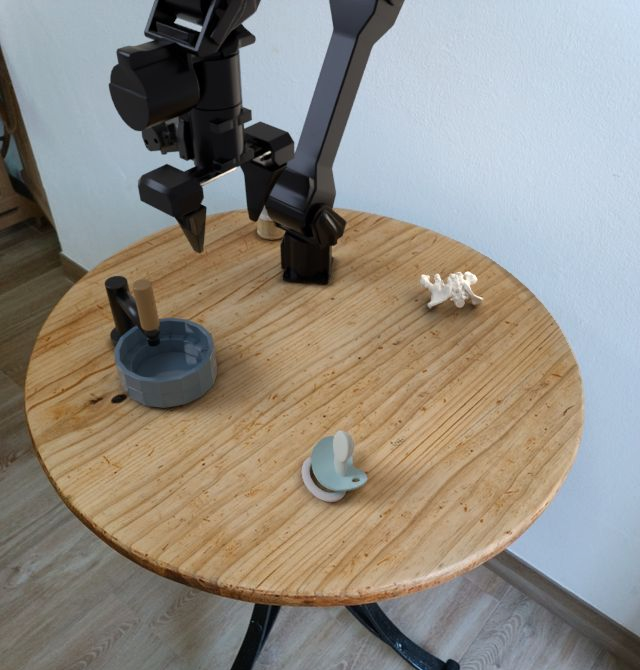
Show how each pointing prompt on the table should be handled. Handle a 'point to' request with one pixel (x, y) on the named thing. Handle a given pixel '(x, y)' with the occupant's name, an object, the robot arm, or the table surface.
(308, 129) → the robot arm
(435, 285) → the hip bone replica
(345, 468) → the pacifier
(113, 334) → the base
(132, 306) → the black crank handle
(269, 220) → the sprinkles bottle
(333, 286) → the table surface
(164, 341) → the basin
